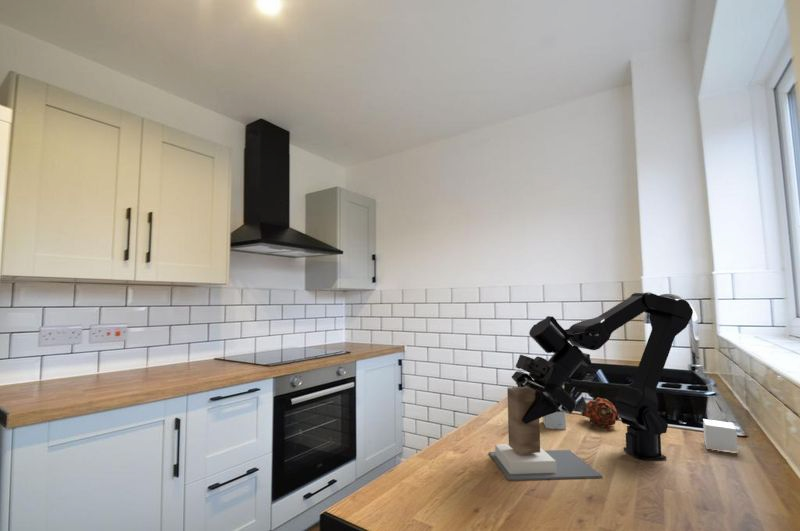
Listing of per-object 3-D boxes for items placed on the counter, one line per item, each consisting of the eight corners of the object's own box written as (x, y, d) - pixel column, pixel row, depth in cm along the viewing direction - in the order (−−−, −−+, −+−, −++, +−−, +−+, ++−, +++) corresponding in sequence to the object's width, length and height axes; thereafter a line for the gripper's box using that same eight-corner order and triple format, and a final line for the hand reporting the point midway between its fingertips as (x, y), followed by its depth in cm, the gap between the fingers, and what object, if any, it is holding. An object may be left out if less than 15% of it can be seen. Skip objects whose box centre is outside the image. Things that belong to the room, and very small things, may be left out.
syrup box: (566, 429, 112) (565, 377, 114) (544, 428, 114) (543, 376, 115) (562, 423, 118) (561, 373, 119) (541, 422, 119) (540, 373, 120)
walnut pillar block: (528, 443, 92) (527, 386, 93) (540, 452, 87) (538, 391, 88) (508, 445, 91) (507, 387, 92) (519, 454, 86) (517, 393, 87)
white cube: (704, 442, 103) (702, 418, 104) (734, 447, 100) (732, 422, 101) (706, 449, 98) (705, 424, 99) (738, 455, 95) (736, 429, 95)
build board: (569, 451, 97) (569, 439, 97) (602, 477, 83) (602, 463, 83) (488, 453, 95) (488, 441, 95) (508, 480, 81) (508, 466, 81)
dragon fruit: (613, 438, 110) (588, 431, 121) (633, 418, 112) (607, 413, 123) (593, 413, 111) (570, 407, 122) (613, 393, 113) (589, 390, 124)
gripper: (517, 338, 101) (477, 384, 98) (560, 347, 82) (513, 405, 79) (547, 368, 101) (508, 415, 99) (596, 384, 83) (550, 442, 80)
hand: (517, 418), depth 89 cm, fingers closed on walnut pillar block, 5 cm apart
